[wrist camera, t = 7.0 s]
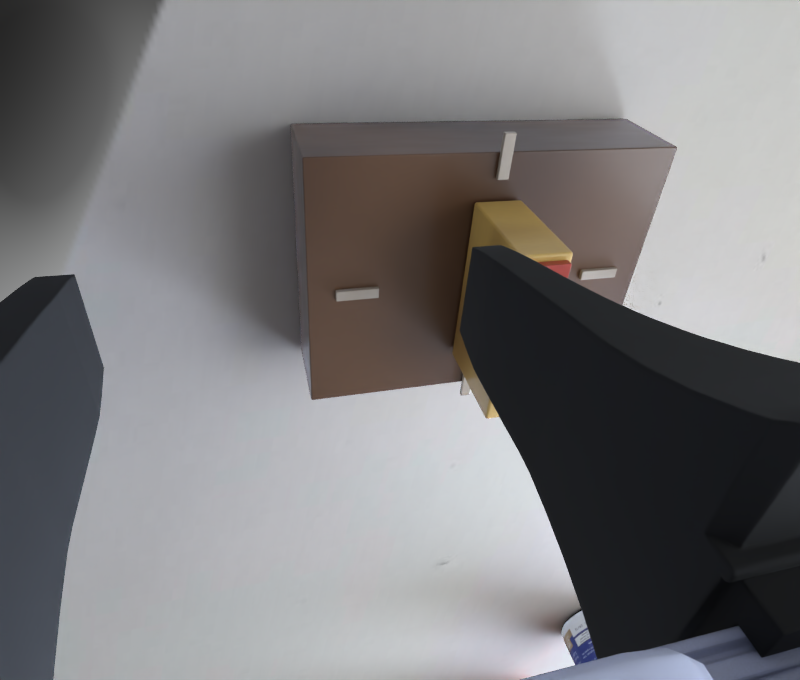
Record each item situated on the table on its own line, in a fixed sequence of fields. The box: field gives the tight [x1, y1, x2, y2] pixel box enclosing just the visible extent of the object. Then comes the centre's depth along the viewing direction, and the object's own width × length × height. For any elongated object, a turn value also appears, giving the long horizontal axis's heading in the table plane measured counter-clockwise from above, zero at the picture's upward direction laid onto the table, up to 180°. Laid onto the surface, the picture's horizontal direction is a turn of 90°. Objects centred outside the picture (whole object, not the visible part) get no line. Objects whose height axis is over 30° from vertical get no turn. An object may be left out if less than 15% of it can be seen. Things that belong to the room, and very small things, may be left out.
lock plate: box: [291, 119, 677, 400], centre depth 21 cm, size 12×10×3 cm
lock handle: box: [452, 200, 573, 419], centre depth 19 cm, size 6×2×4 cm, turn 176°
